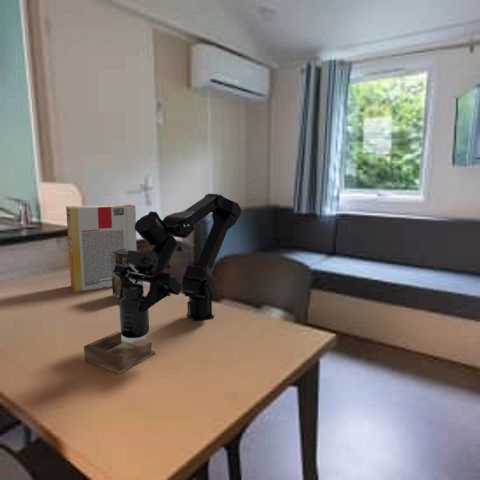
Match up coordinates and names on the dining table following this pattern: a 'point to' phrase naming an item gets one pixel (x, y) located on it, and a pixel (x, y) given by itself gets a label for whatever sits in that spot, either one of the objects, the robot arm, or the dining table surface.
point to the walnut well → (116, 353)
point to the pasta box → (97, 241)
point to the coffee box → (117, 259)
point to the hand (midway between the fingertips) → (130, 309)
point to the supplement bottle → (133, 312)
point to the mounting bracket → (133, 339)
